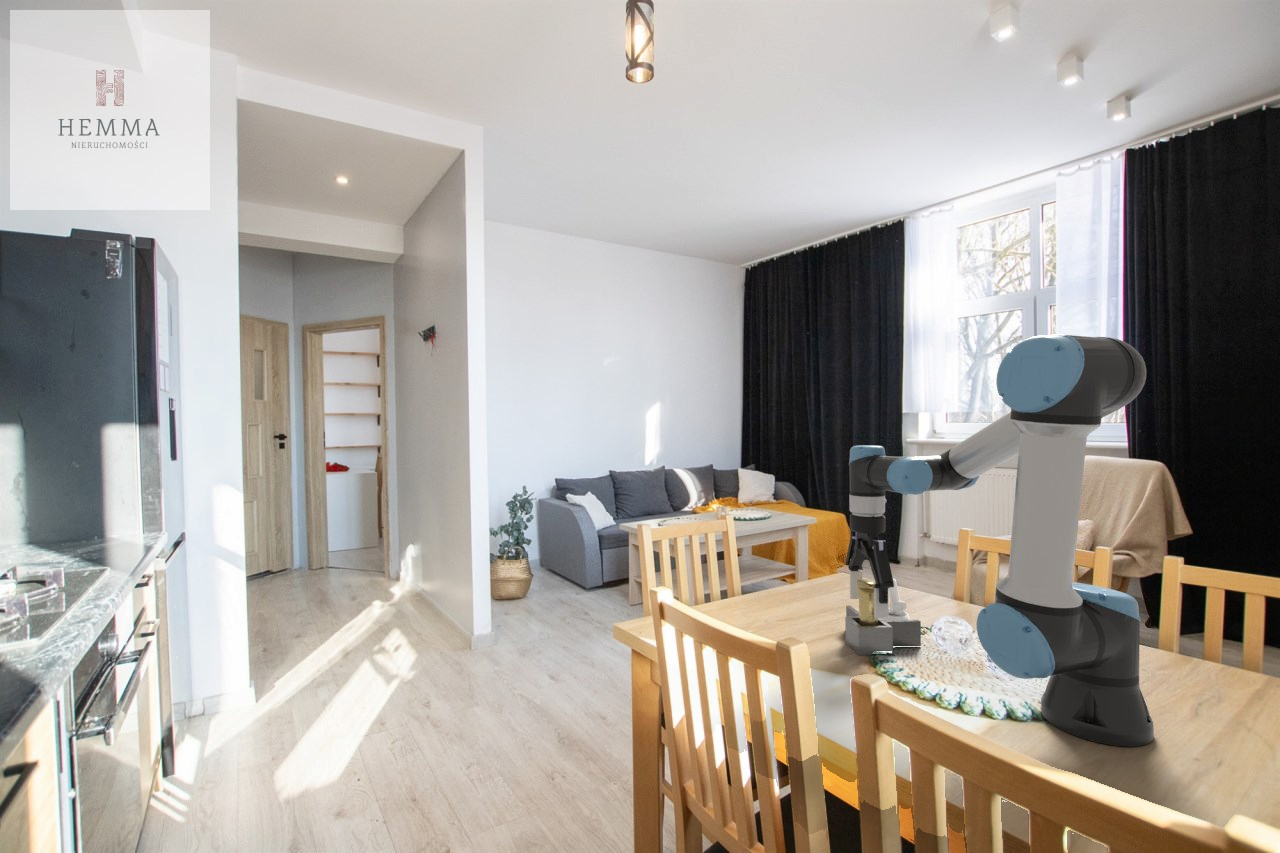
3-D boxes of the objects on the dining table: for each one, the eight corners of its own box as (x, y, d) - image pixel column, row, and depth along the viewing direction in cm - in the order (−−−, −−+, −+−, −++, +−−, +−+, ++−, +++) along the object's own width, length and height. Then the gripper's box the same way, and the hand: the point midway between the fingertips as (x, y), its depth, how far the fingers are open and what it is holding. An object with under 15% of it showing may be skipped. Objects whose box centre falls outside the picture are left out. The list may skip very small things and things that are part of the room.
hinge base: (928, 653, 132) (928, 626, 132) (858, 655, 131) (858, 628, 131) (895, 628, 147) (895, 604, 147) (833, 630, 147) (832, 605, 147)
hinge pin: (883, 652, 133) (883, 584, 133) (862, 652, 133) (862, 585, 132) (874, 644, 138) (874, 579, 137) (854, 644, 137) (853, 579, 137)
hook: (892, 589, 164) (908, 580, 158) (901, 633, 157) (918, 625, 151) (868, 584, 162) (883, 575, 157) (876, 629, 155) (892, 621, 150)
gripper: (910, 523, 123) (911, 626, 123) (861, 505, 147) (862, 591, 148) (874, 523, 122) (875, 626, 123) (831, 506, 147) (832, 591, 147)
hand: (868, 607), depth 135 cm, fingers open, 13 cm apart
